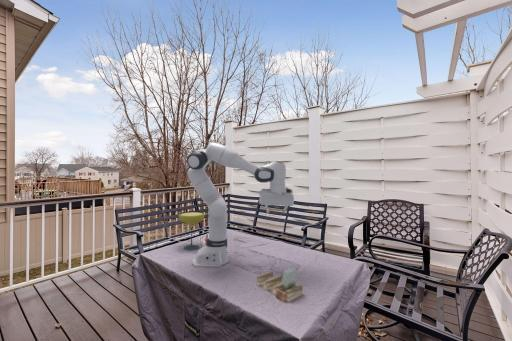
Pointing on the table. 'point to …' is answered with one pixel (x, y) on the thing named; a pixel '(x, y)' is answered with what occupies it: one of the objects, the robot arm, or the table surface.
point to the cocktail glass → (191, 223)
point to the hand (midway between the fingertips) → (275, 213)
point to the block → (289, 279)
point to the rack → (278, 286)
